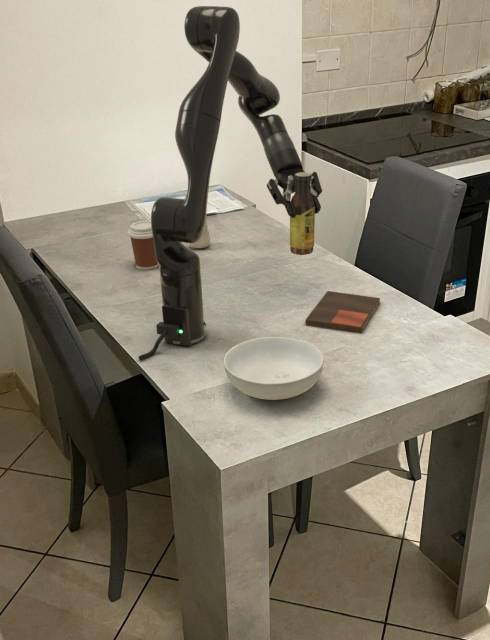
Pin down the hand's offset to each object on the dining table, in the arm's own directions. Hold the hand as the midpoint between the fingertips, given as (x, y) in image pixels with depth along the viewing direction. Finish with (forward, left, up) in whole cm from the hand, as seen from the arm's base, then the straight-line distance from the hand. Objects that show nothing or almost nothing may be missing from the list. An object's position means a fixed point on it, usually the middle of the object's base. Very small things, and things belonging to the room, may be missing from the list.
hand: (306, 214), depth 199 cm
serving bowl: (-47, -9, -22) cm, 52 cm away
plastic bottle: (+23, +41, -22) cm, 53 cm away
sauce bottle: (+1, +1, -11) cm, 11 cm away
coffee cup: (+5, +49, -22) cm, 55 cm away
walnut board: (-8, -13, -22) cm, 26 cm away
